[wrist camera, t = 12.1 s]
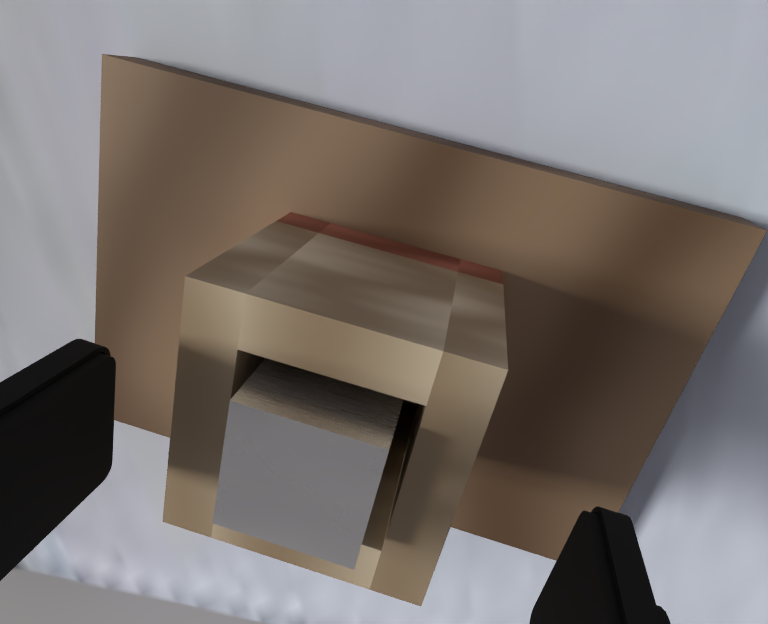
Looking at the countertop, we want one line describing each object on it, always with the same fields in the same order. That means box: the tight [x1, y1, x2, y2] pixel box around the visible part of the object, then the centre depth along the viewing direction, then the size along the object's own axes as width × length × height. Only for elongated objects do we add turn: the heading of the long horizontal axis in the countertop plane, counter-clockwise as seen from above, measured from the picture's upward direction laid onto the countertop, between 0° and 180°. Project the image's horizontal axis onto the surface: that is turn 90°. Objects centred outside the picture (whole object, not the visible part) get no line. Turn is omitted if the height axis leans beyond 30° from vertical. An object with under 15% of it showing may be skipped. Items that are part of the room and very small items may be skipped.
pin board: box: [95, 54, 767, 561], centre depth 18 cm, size 18×12×2 cm, turn 77°
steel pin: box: [212, 358, 404, 570], centre depth 14 cm, size 3×3×7 cm
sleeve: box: [163, 212, 508, 606], centre depth 14 cm, size 6×6×6 cm
